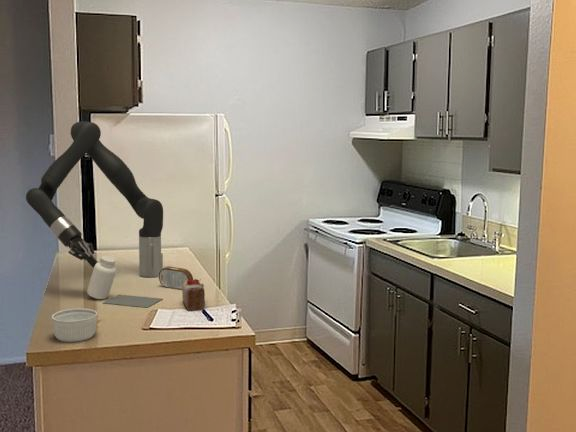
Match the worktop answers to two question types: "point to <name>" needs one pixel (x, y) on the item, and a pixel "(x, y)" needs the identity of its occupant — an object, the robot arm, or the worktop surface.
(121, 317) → the worktop surface
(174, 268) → the tin
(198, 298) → the food item
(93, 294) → the pill bottle
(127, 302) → the mat
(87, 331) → the ramekin
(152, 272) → the robot arm
